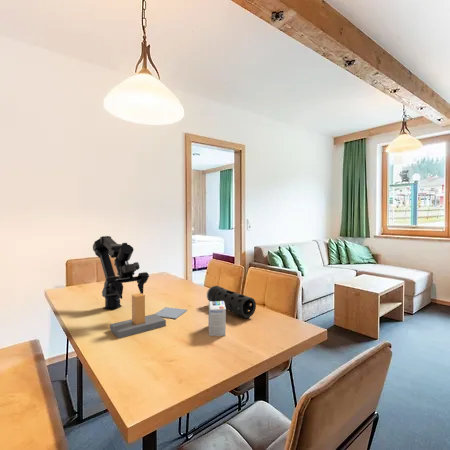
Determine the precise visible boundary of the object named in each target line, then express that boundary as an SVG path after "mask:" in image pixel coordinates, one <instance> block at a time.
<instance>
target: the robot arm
mask: <svg viewBox="0 0 450 450" xmlns="http://www.w3.org/2000/svg"><path fill="white" fill-rule="evenodd" d="M92 251H93V252H94V254H95V256H97V257H98V258H99V259H100V264H101V267H102V270H103V274H104V277H105V281H104V283H103V284H104V285H103V289H102V292H101V294H102V295H101V296H102V297H103V298H104V300H105V301H104V302H105V304H104V305H105V306H104V307H103V309H104V310H110V311H113V310H117V309H118V308H120V307H122V306H123V305H121V300H123V292H124V285H123V284H124V283H131V282H137V287H138V290H139V293H142V294H143V295H144V285H145V284H146V283H147V282H148V280H149V277H150V275H149V273H148V272H147V271H143V272H139V273H138V275H137V276H134V275H135V272H136V271H138V270H140V263H139V262H138V261H137V262H132V263H129V261H130V260H131V257H132V255H133V253H134V247H133V246H132V245H130V244H128V243H127V242H122V244H121V243H117V242H116V241H115V240H114V239H113V238H112V236H110V235H104V236H100V237H99V238H98V239H97V240H94V242H93V244H92ZM114 258H115V259H114ZM111 259H114V261H113V262H114V266H115V267H116V271H117V273H116V274H117V275H116V274H115V270H114V267H113V263H112V261H111Z"/></svg>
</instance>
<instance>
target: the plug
mask: <svg viewBox="0 0 450 450" xmlns="http://www.w3.org/2000/svg"><path fill="white" fill-rule="evenodd" d="M145 301H146V295H145V294H144V293H143V294H142V293H140V292H138V293H135V294H131V319H132V323H133V324H135V325H138V324H142V323H145V316H146V302H145Z"/></svg>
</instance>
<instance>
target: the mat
mask: <svg viewBox="0 0 450 450" xmlns="http://www.w3.org/2000/svg"><path fill="white" fill-rule="evenodd" d="M186 312H188V309H185V308H177V307H167V306H166V307H164V308H162V309H161V310H158V311H157V312H155V313H154V314H157V315H158V316H160V317H162V318H163V319H165V318H166V319H173V320H177V319H178V318H179V317H180V316H182V315H183V314H185V313H186Z"/></svg>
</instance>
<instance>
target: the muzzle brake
mask: <svg viewBox="0 0 450 450" xmlns="http://www.w3.org/2000/svg"><path fill="white" fill-rule="evenodd" d="M206 298H207V300H208V302H209V301H224V304H225V307H226V310H228V311H230V313H233V314H234V315H236V316H239V317H241V318H243V319H246V320H249V319H250V318H251V317H252V316H253V315H254V313H255V311H256V308H257V303H256V300H255V299H254V298H253V297H250V296H247V295H245V294H243V293H242V294H240V293H238V292H235V291H232V290H229V289H227V288H224V287H222V286H219V285H212V286H211V287H209V288H208V290H207V292H206Z"/></svg>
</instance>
